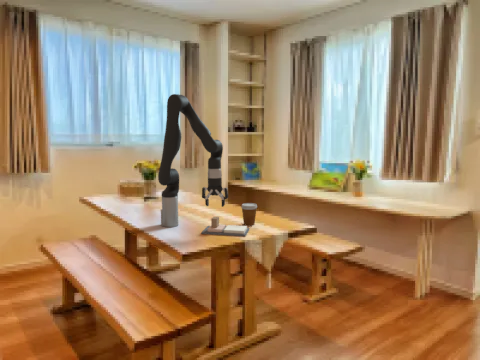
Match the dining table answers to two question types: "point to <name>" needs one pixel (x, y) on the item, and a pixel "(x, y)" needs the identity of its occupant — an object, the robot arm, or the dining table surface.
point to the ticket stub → (216, 225)
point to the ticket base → (229, 231)
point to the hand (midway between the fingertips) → (215, 206)
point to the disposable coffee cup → (249, 213)
